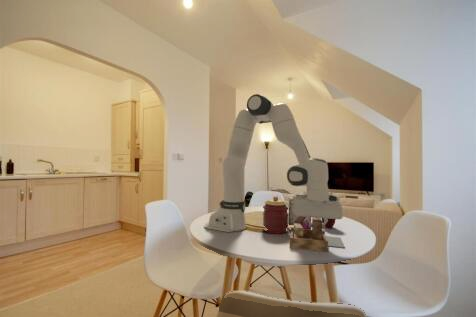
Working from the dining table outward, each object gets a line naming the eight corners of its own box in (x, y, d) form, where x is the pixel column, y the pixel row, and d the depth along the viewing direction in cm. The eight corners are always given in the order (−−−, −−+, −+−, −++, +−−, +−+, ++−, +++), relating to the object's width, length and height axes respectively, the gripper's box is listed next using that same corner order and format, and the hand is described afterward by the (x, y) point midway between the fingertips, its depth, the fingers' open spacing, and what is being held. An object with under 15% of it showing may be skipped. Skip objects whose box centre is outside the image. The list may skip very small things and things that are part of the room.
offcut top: (296, 236, 96) (296, 227, 96) (293, 231, 103) (293, 223, 103) (302, 236, 96) (303, 228, 96) (299, 231, 103) (299, 223, 103)
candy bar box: (289, 230, 116) (289, 198, 116) (288, 228, 121) (288, 197, 121) (311, 231, 115) (311, 199, 115) (309, 229, 120) (309, 198, 120)
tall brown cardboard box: (312, 248, 93) (313, 222, 93) (312, 240, 102) (312, 216, 103) (322, 249, 92) (322, 223, 92) (320, 241, 101) (320, 217, 102)
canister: (263, 233, 110) (263, 197, 111) (262, 226, 123) (262, 194, 124) (290, 234, 110) (290, 198, 110) (286, 227, 123) (286, 194, 123)
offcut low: (293, 245, 95) (293, 236, 96) (294, 239, 104) (294, 230, 104) (301, 246, 95) (301, 237, 95) (300, 239, 103) (301, 230, 103)
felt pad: (326, 246, 95) (326, 245, 95) (324, 236, 108) (324, 235, 108) (345, 248, 93) (345, 247, 93) (340, 238, 106) (340, 237, 106)
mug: (320, 229, 119) (321, 210, 119) (313, 225, 127) (313, 207, 127) (339, 229, 120) (339, 210, 121) (331, 225, 128) (331, 207, 129)
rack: (289, 247, 93) (289, 237, 93) (291, 236, 107) (291, 227, 108) (327, 251, 89) (328, 241, 89) (324, 239, 103) (324, 230, 103)
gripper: (292, 195, 97) (291, 227, 97) (343, 197, 92) (343, 232, 91) (292, 193, 103) (292, 223, 103) (341, 195, 98) (341, 227, 98)
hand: (316, 227), depth 97 cm, fingers closed on tall brown cardboard box, 3 cm apart
